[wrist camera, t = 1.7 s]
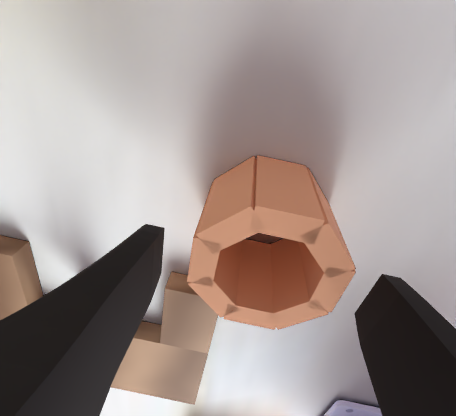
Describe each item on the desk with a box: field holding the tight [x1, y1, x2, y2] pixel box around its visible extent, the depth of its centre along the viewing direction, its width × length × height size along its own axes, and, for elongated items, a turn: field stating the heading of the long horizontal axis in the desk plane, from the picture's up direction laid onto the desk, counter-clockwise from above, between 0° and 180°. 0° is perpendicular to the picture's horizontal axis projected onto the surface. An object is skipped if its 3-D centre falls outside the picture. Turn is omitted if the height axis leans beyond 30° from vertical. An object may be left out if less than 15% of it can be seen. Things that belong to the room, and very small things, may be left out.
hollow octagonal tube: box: [187, 155, 356, 330], centre depth 11 cm, size 5×5×4 cm
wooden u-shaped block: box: [0, 235, 218, 405], centre depth 18 cm, size 14×12×1 cm
